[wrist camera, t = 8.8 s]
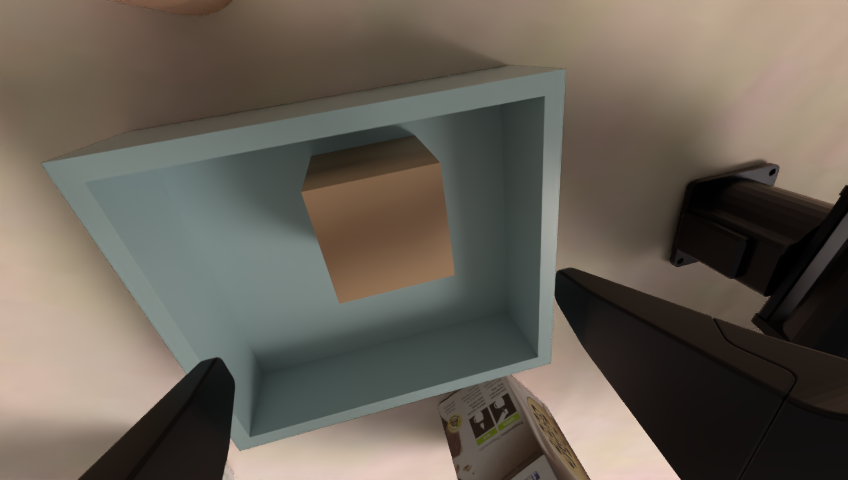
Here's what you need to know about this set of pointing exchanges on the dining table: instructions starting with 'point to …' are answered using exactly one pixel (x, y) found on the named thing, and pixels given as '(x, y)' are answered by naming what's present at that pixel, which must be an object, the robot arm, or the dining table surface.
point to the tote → (301, 255)
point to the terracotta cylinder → (180, 5)
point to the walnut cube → (379, 217)
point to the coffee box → (506, 435)
